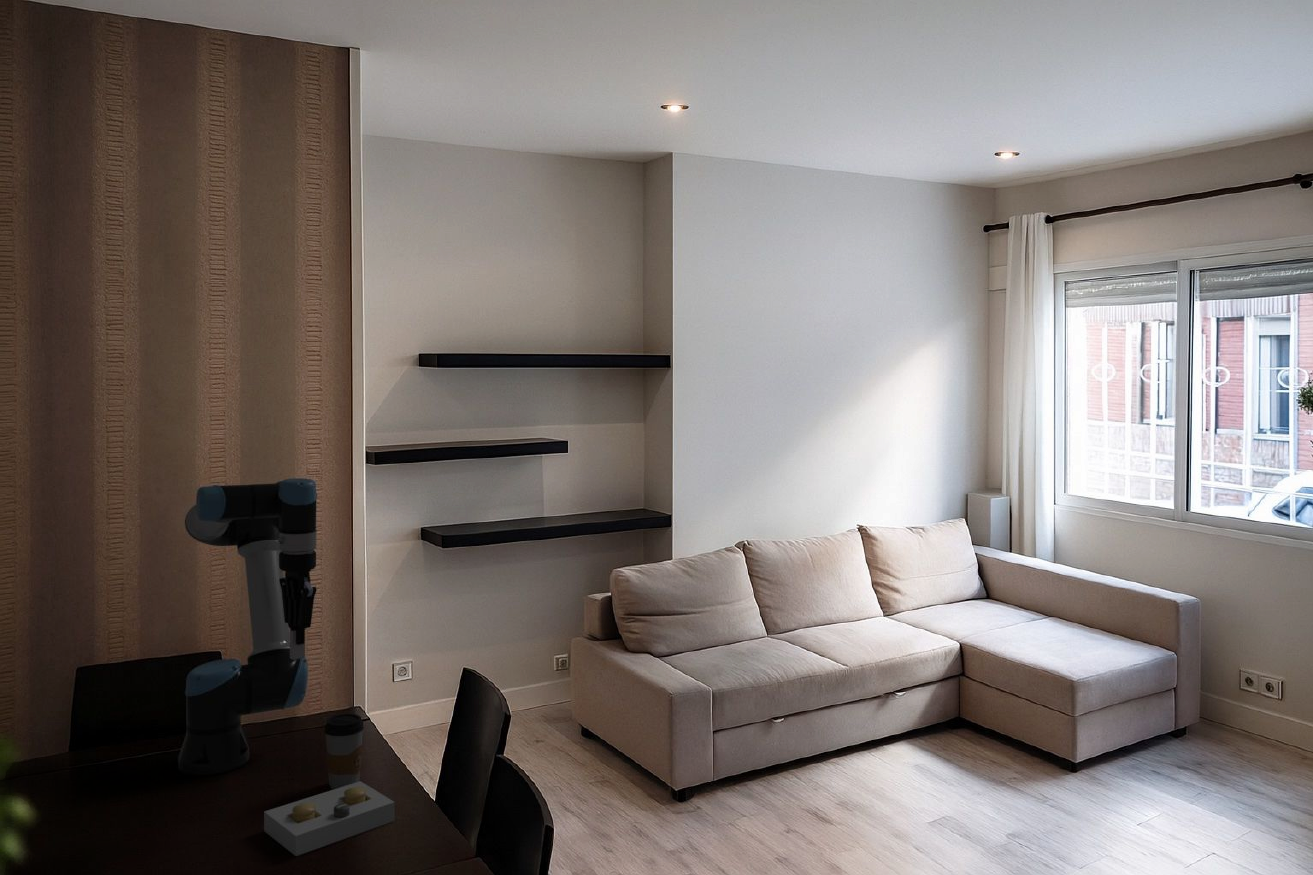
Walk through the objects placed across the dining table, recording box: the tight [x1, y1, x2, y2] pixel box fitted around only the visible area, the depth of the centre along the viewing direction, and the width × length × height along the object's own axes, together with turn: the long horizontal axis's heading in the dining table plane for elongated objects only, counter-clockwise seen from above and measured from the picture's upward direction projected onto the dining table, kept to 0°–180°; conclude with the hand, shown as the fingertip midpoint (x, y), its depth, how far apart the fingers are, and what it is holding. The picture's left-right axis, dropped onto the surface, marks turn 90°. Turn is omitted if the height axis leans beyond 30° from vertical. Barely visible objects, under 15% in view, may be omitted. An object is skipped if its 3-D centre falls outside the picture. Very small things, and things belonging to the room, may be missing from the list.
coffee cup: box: [324, 713, 364, 790], centre depth 211 cm, size 8×8×15 cm
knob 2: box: [344, 787, 366, 806], centre depth 196 cm, size 4×4×4 cm
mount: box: [263, 780, 395, 857], centre depth 192 cm, size 14×21×6 cm, turn 136°
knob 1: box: [292, 803, 316, 823], centre depth 188 cm, size 4×4×4 cm
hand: (297, 657), depth 206 cm, fingers closed
